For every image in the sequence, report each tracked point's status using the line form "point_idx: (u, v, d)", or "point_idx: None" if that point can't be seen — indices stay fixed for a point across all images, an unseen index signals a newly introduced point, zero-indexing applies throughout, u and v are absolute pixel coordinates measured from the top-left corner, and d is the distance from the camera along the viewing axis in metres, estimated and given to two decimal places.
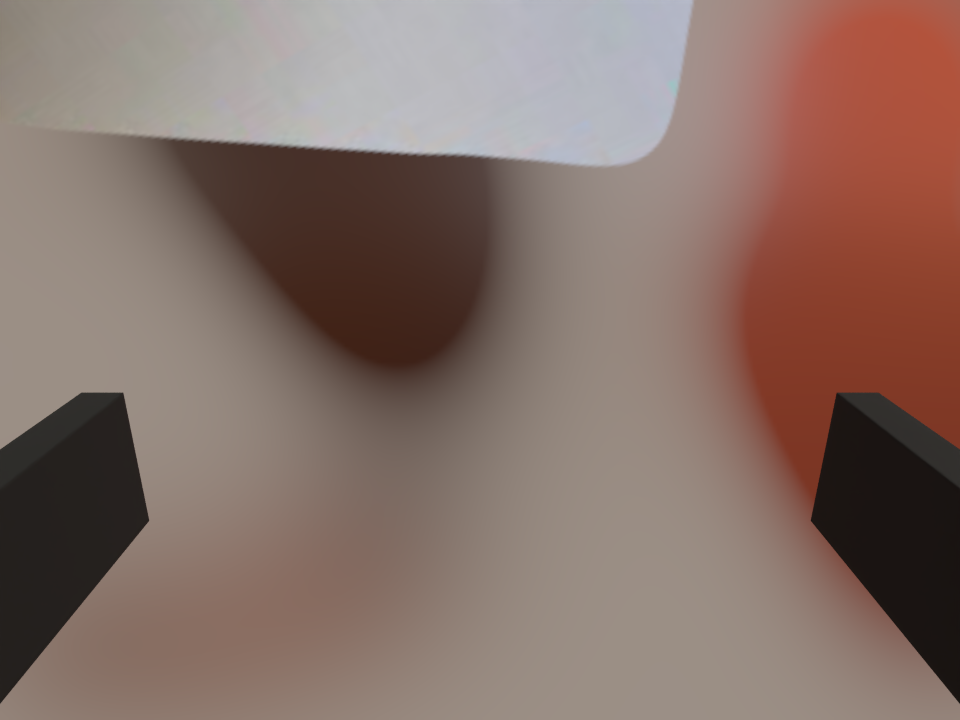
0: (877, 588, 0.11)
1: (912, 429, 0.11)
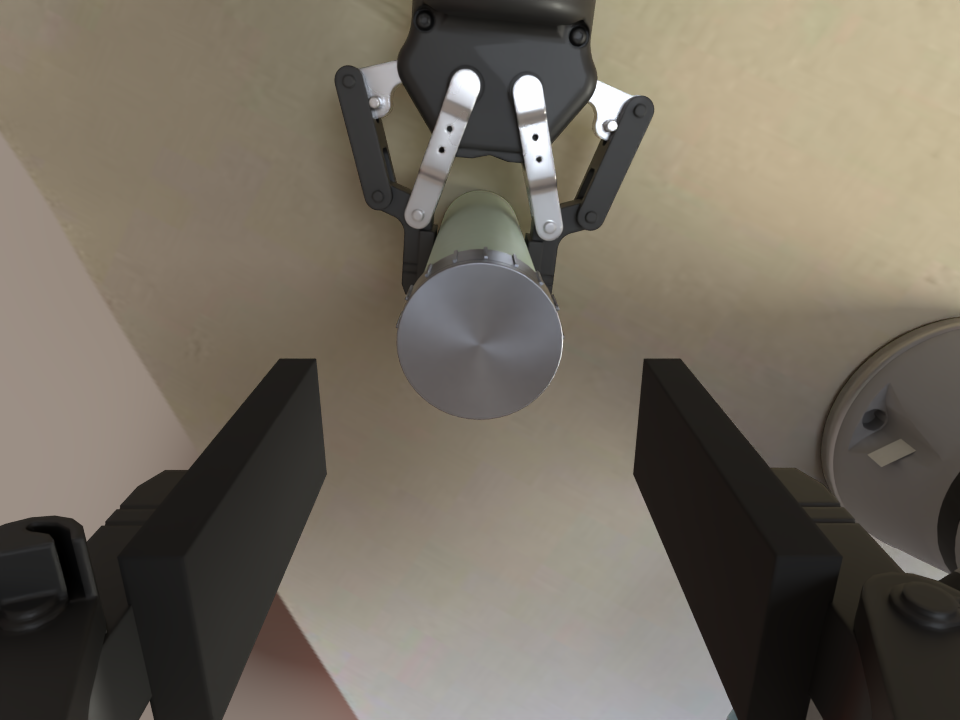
0: (659, 524, 0.12)
1: (686, 386, 0.12)
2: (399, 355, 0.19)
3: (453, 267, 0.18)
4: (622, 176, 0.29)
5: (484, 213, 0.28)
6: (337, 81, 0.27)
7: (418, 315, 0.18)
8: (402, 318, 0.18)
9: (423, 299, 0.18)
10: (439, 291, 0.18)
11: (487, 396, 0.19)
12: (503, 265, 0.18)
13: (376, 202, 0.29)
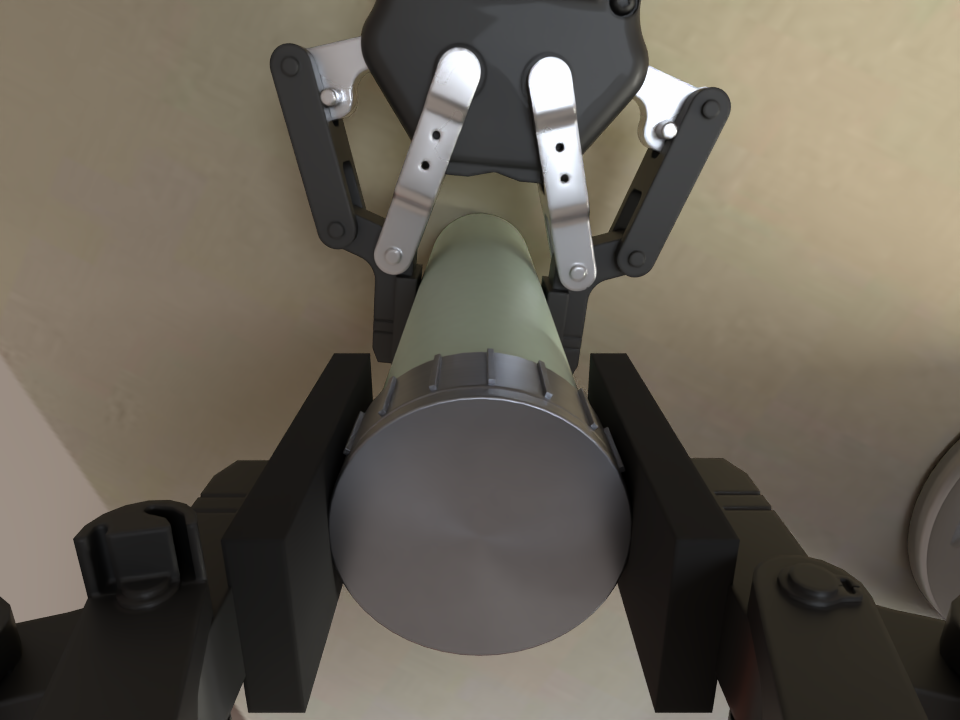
0: None
1: (626, 380, 0.12)
2: (333, 555, 0.10)
3: (430, 405, 0.09)
4: (682, 202, 0.20)
5: (486, 256, 0.20)
6: (273, 66, 0.19)
7: (365, 488, 0.10)
8: (336, 493, 0.10)
9: (374, 461, 0.10)
10: (404, 447, 0.10)
11: (493, 620, 0.11)
12: (525, 401, 0.09)
13: (334, 238, 0.21)
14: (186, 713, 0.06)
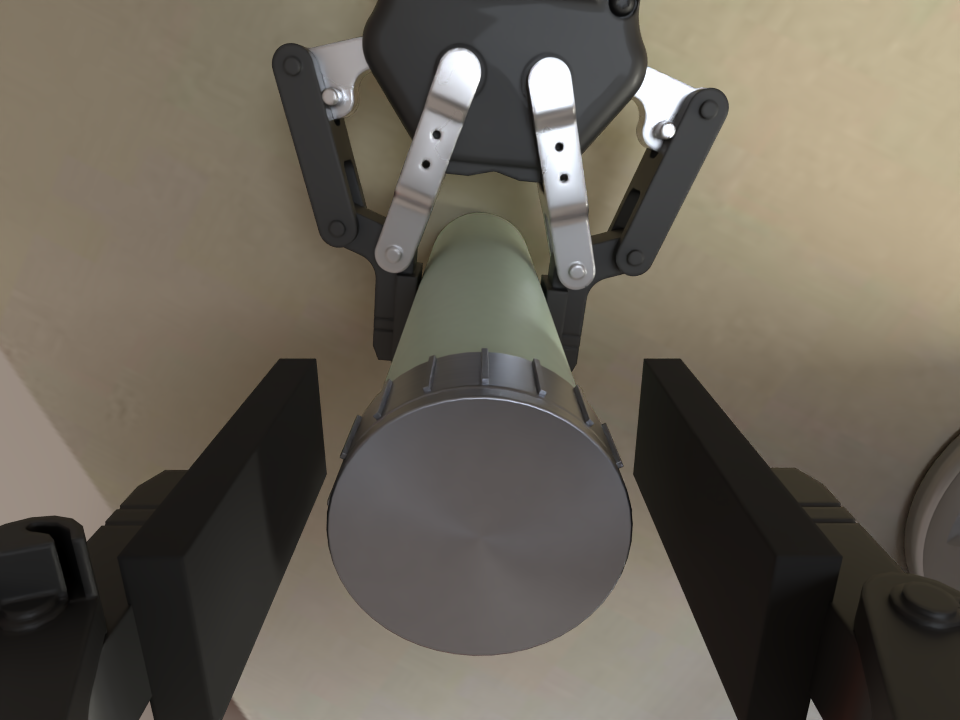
0: (659, 524, 0.12)
1: (687, 387, 0.12)
2: (439, 650, 0.11)
3: (329, 520, 0.10)
4: (680, 201, 0.20)
5: (486, 254, 0.20)
6: (276, 66, 0.19)
7: (386, 600, 0.11)
8: (381, 622, 0.11)
9: (363, 583, 0.10)
10: (359, 557, 0.10)
11: (578, 562, 0.10)
12: (357, 447, 0.10)
13: (335, 236, 0.21)
14: None
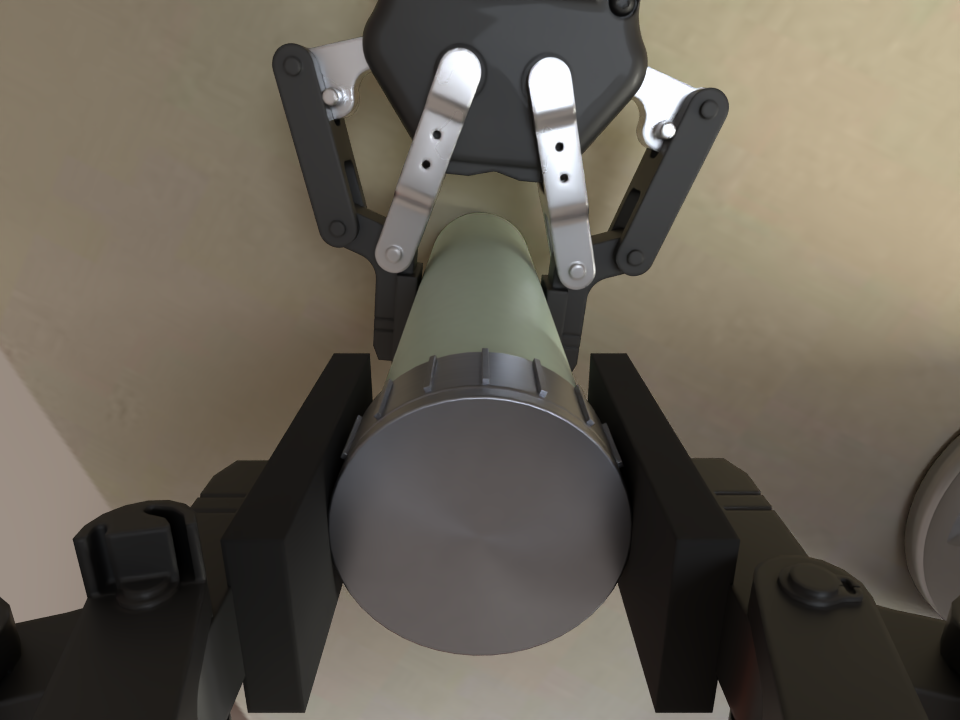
0: None
1: (626, 380, 0.12)
2: (440, 650, 0.11)
3: (329, 520, 0.10)
4: (680, 201, 0.20)
5: (486, 254, 0.20)
6: (276, 66, 0.19)
7: (387, 600, 0.11)
8: (381, 622, 0.11)
9: (364, 583, 0.10)
10: (360, 557, 0.10)
11: (578, 561, 0.10)
12: (358, 447, 0.10)
13: (335, 236, 0.21)
14: (186, 713, 0.06)
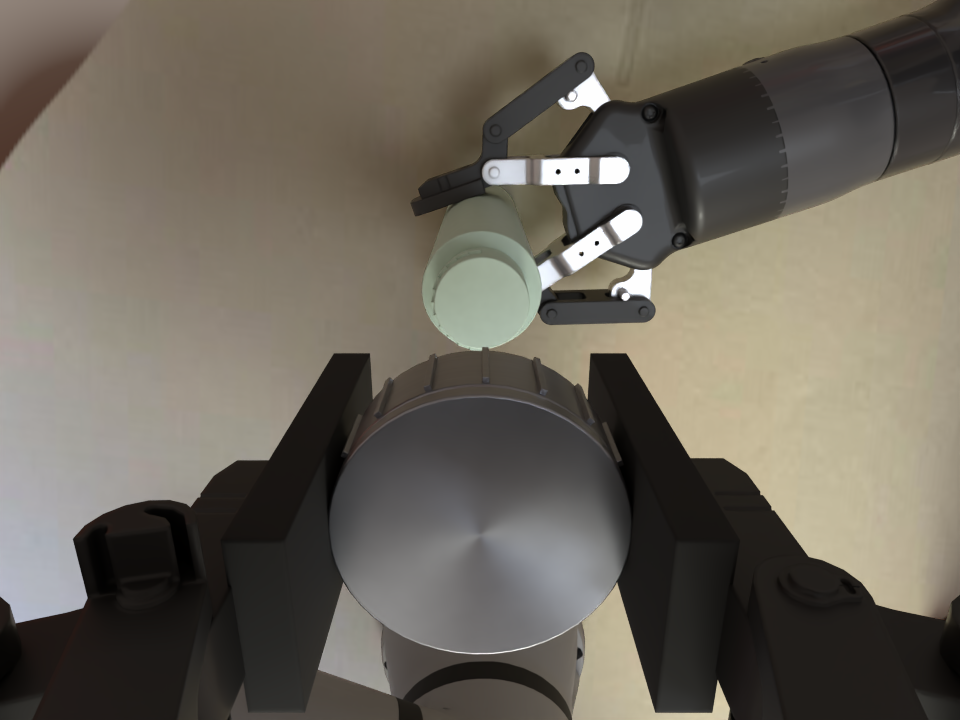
0: None
1: (626, 380, 0.12)
2: (440, 649, 0.11)
3: (330, 519, 0.10)
4: (591, 322, 0.34)
5: None
6: (577, 56, 0.30)
7: (387, 599, 0.11)
8: (382, 621, 0.11)
9: (364, 581, 0.10)
10: (360, 555, 0.10)
11: (579, 560, 0.10)
12: (358, 446, 0.10)
13: (489, 131, 0.31)
14: (186, 713, 0.06)
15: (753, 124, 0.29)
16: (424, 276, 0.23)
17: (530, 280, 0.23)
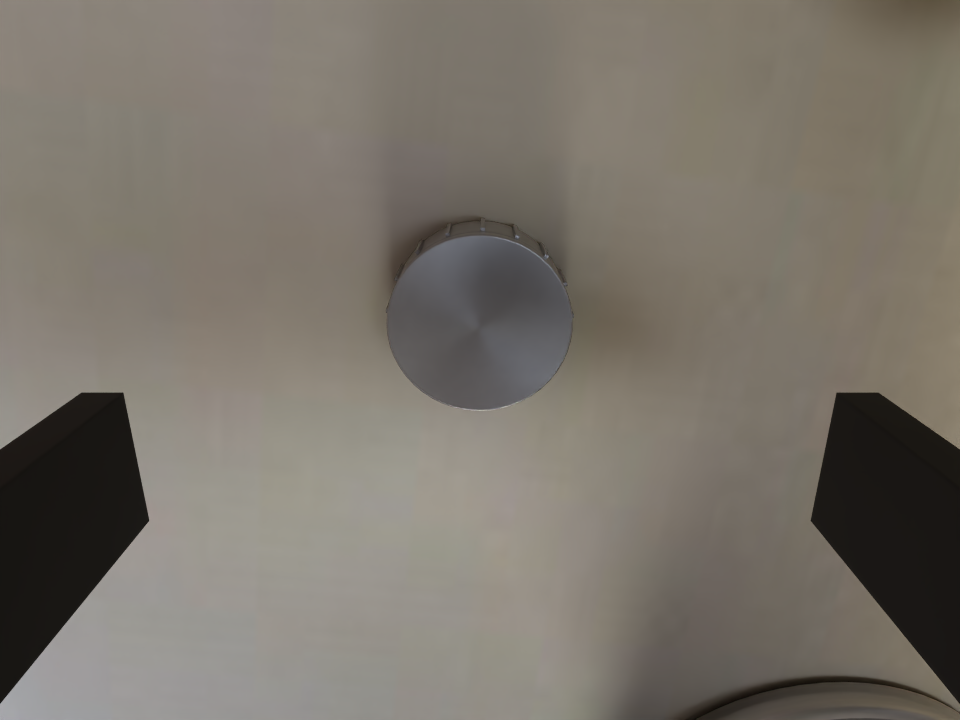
0: (877, 588, 0.11)
1: (912, 429, 0.11)
2: (455, 406, 0.17)
3: (388, 317, 0.17)
4: None
5: None
6: None
7: (422, 371, 0.17)
8: (419, 387, 0.17)
9: (408, 359, 0.17)
10: (406, 341, 0.17)
11: (540, 344, 0.17)
12: (406, 268, 0.16)
13: None
14: None
15: None
16: None
17: None
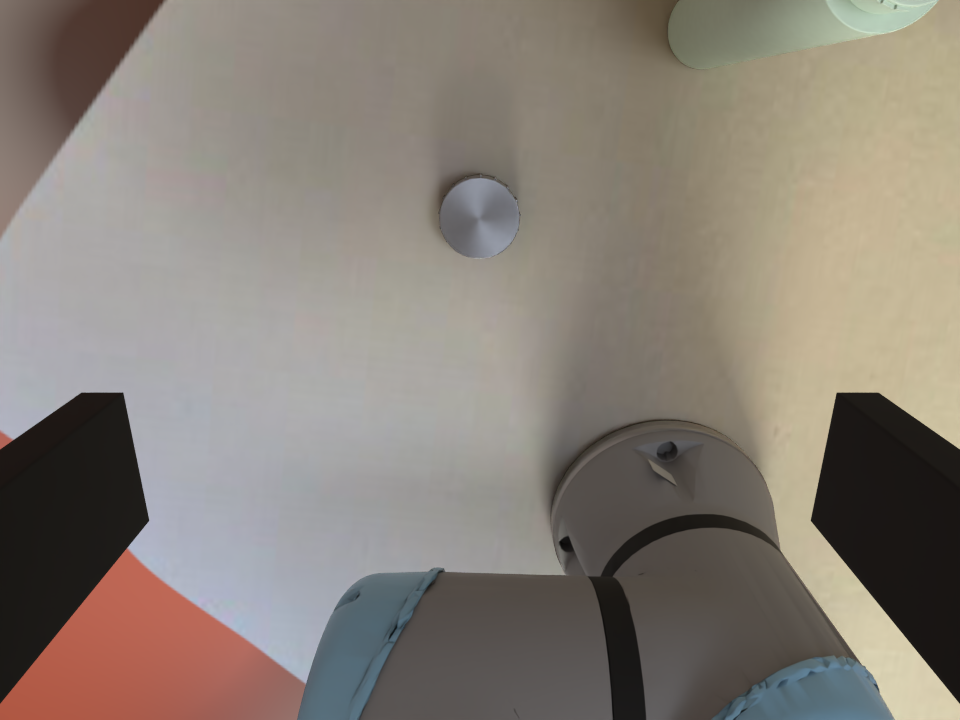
0: (877, 588, 0.11)
1: (912, 429, 0.11)
2: (468, 256, 0.39)
3: (440, 214, 0.39)
4: None
5: None
6: None
7: (454, 239, 0.39)
8: (452, 247, 0.39)
9: (448, 234, 0.39)
10: (447, 225, 0.39)
11: (505, 226, 0.39)
12: (448, 192, 0.38)
13: None
14: None
15: None
16: None
17: None
